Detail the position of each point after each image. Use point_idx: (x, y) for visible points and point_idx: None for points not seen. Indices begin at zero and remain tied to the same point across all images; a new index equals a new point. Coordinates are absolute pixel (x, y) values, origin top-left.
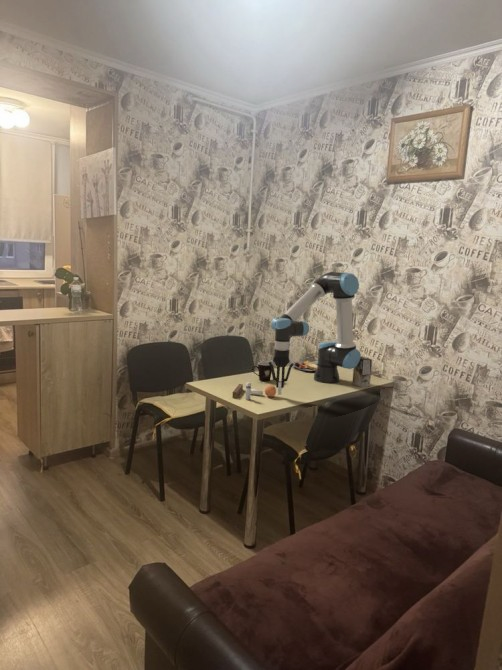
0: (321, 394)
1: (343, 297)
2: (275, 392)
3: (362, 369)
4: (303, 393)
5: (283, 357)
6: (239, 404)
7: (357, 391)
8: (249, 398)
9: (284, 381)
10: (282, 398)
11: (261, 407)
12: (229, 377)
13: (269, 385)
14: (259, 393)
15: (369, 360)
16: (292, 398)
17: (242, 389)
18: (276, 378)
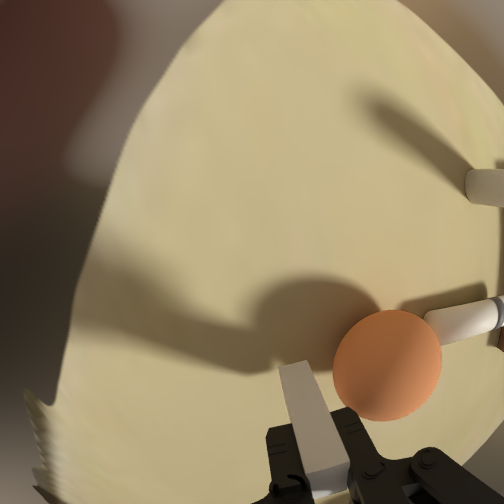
0: (98, 471)
1: None
2: (337, 365)
3: None
4: (174, 474)
5: None
6: (461, 66)
7: (51, 490)
8: (473, 175)
9: (264, 500)
10: (256, 353)
11: (331, 28)
12: (499, 423)
13: (426, 393)
14: (447, 310)
15: None
16: (181, 387)
17: (499, 345)
18: (401, 488)
